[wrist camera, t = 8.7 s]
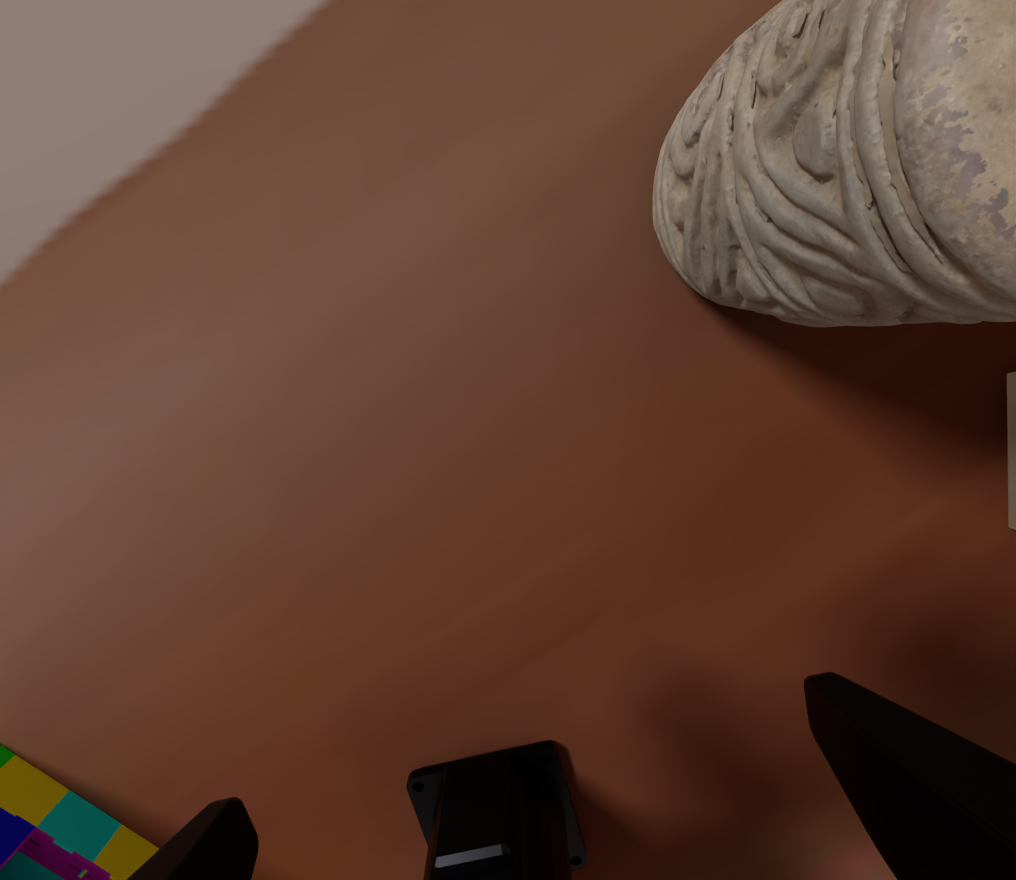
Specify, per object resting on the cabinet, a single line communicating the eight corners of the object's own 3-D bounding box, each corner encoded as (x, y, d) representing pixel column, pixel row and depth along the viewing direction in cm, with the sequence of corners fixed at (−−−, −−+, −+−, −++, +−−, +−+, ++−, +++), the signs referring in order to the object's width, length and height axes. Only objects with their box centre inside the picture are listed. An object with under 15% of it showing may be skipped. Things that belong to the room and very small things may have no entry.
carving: (714, 360, 19) (1056, 443, 7) (596, 170, 17) (783, -119, 6) (877, 249, 18) (1569, 136, 6) (768, 39, 16) (1406, -620, 5)
